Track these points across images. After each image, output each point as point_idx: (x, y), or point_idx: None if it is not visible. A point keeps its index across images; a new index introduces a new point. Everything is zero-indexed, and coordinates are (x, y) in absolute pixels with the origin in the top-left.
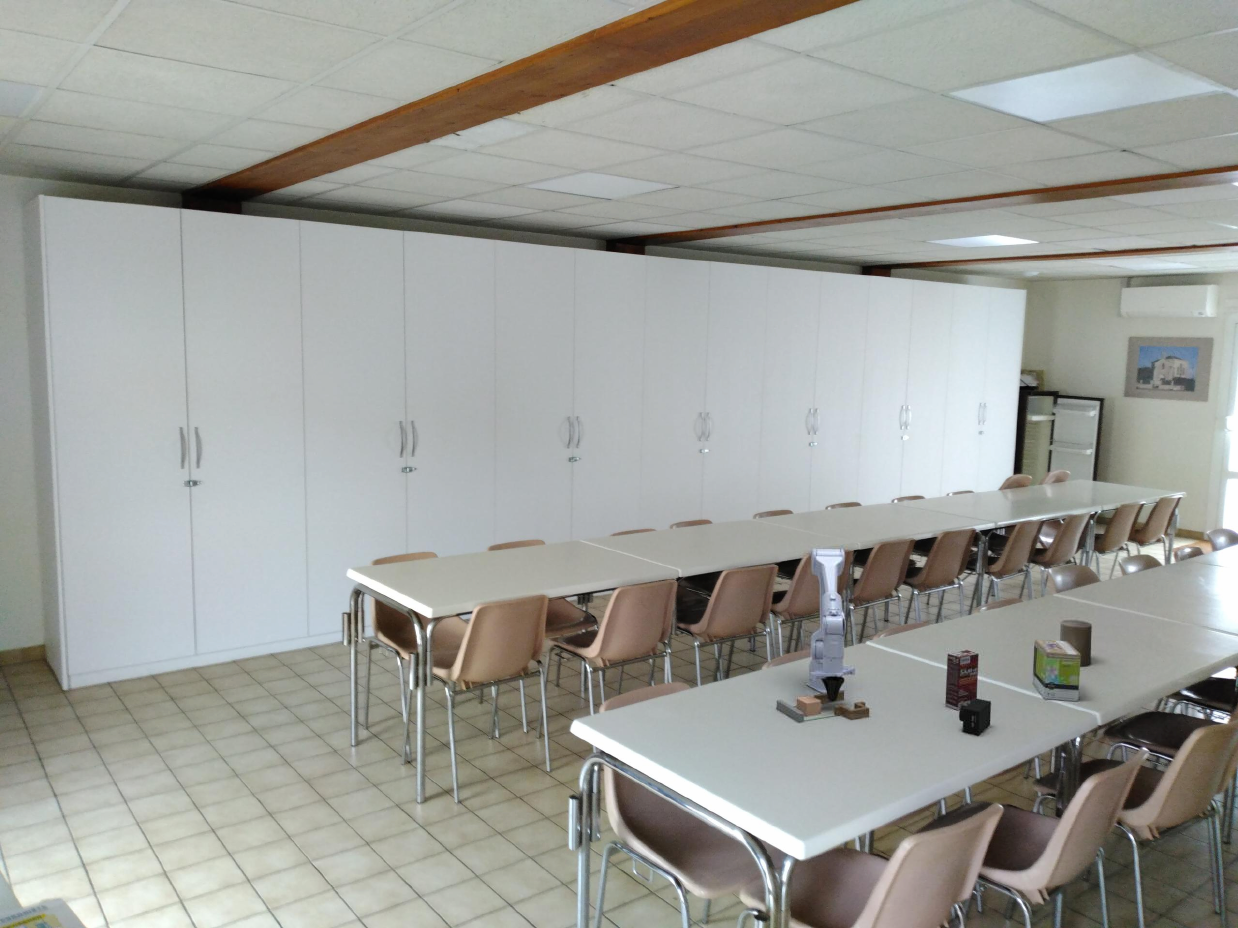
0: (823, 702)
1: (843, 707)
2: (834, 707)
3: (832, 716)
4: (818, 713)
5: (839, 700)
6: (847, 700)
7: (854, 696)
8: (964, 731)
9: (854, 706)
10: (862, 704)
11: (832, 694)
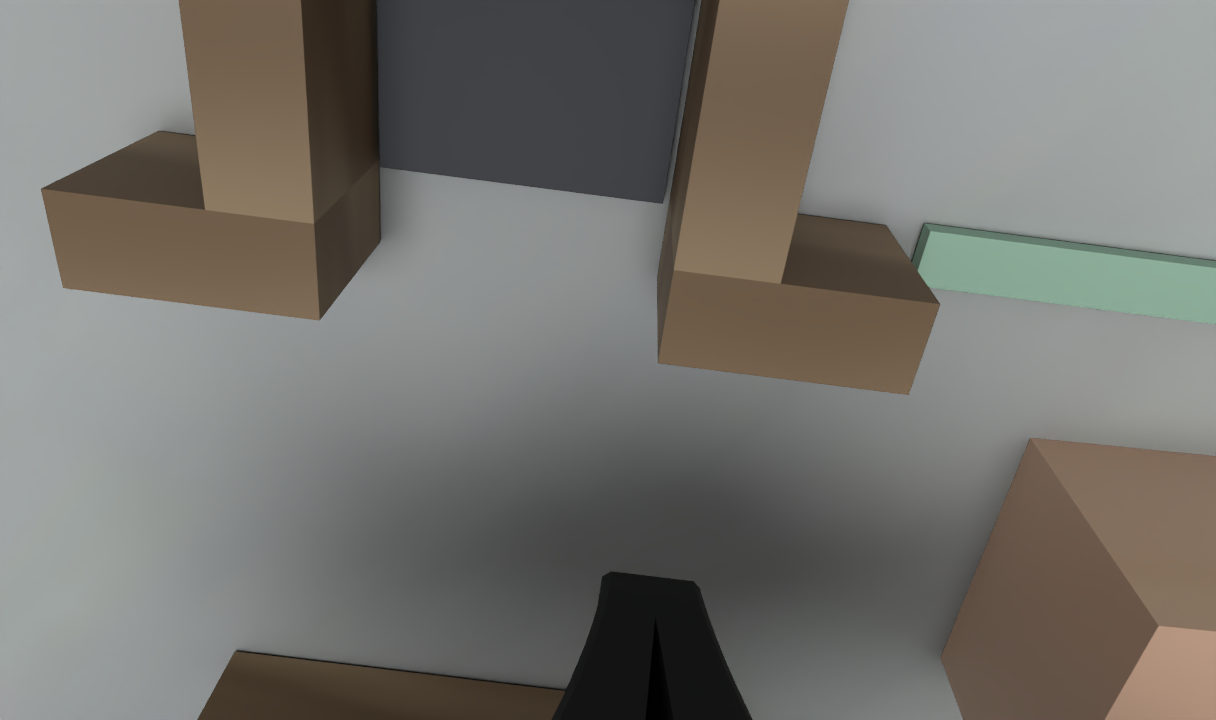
0: None
1: (795, 218)
2: (905, 365)
3: (993, 233)
4: (1088, 452)
5: (318, 661)
6: (198, 614)
7: (8, 663)
8: None
9: (350, 271)
10: (154, 187)
11: (743, 707)
